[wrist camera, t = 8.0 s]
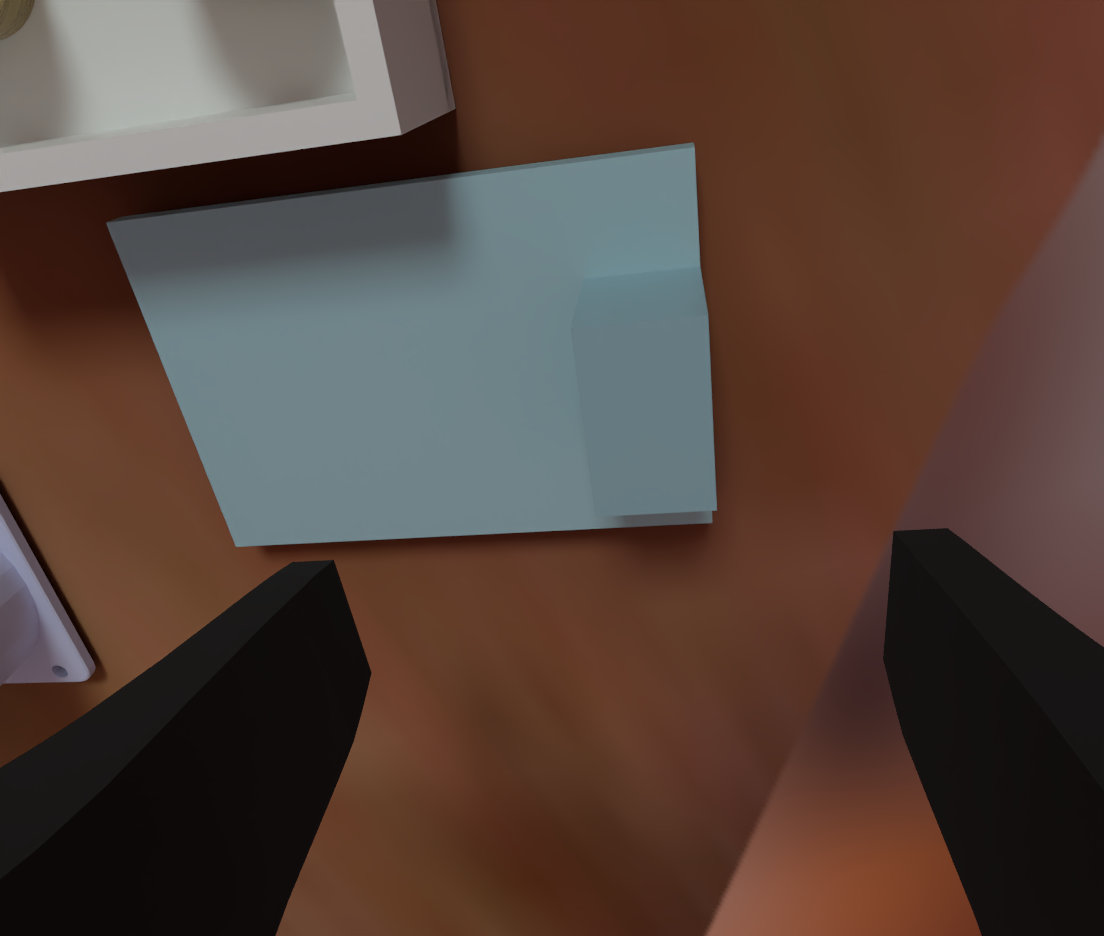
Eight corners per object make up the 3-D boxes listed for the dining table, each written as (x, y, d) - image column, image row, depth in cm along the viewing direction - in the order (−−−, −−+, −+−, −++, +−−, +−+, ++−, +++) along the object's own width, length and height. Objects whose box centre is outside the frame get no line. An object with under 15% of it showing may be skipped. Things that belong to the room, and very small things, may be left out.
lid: (258, 518, 23) (178, 620, 19) (142, 208, 18) (8, 260, 15) (709, 492, 20) (720, 602, 17) (691, 137, 16) (702, 175, 13)
